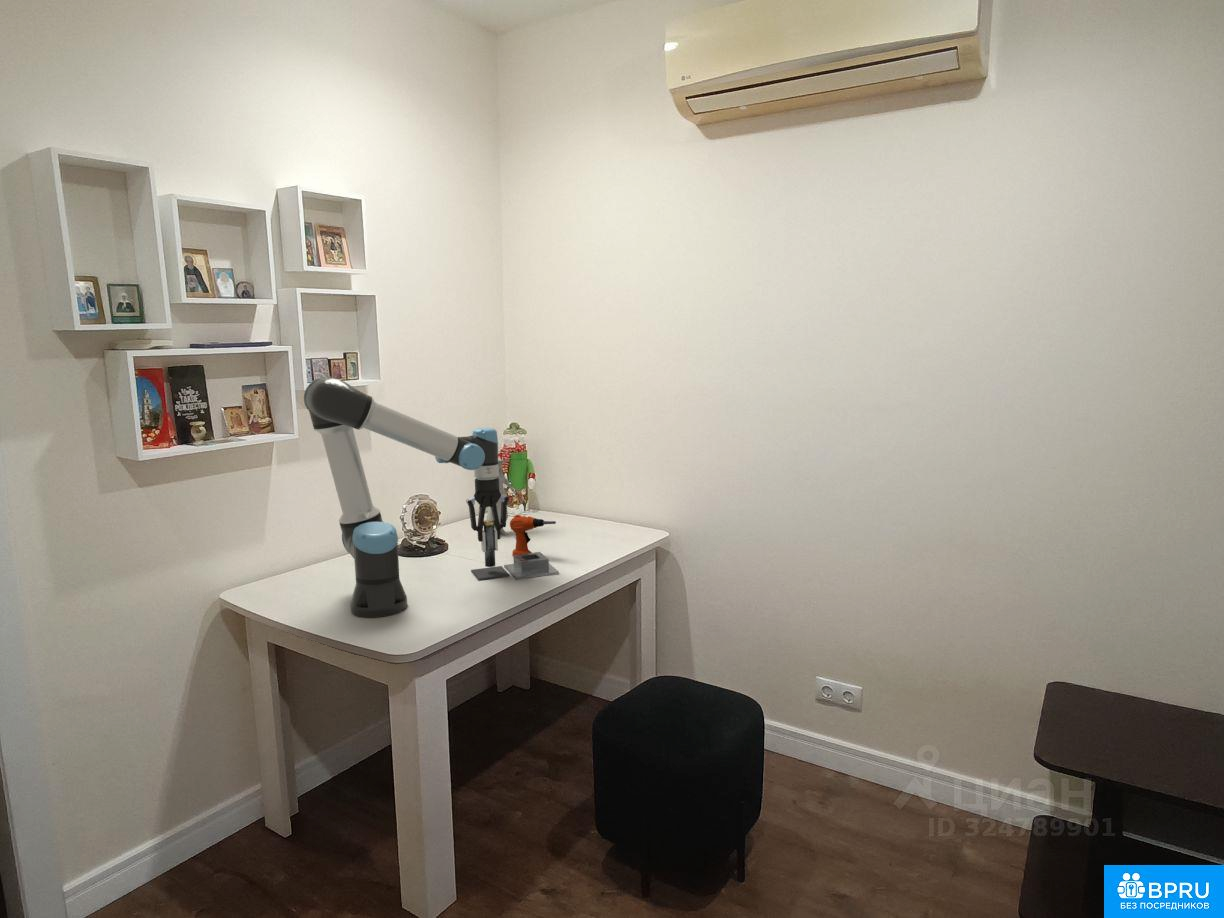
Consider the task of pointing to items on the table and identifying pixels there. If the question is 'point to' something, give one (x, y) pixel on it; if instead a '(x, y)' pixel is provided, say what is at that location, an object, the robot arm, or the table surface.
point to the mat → (490, 573)
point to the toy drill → (520, 526)
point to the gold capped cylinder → (489, 543)
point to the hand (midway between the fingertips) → (489, 550)
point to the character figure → (501, 481)
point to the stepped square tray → (530, 566)
